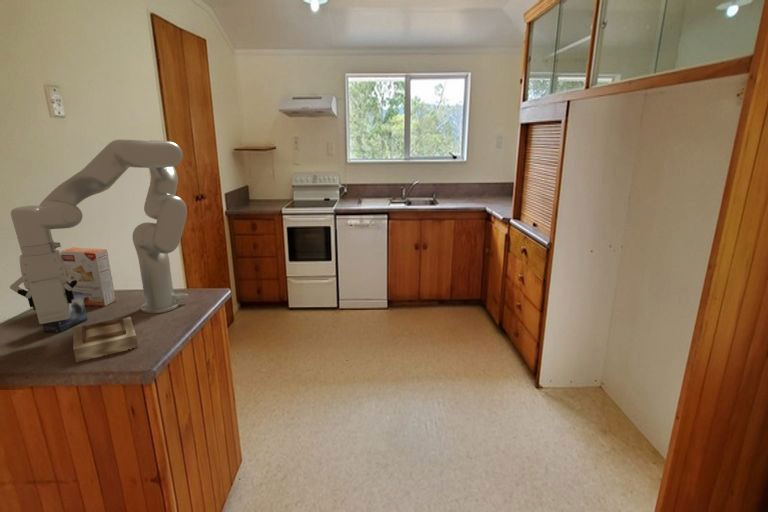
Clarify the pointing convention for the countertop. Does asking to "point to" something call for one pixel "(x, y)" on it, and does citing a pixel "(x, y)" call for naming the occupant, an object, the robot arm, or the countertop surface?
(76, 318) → the small box
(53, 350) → the countertop surface
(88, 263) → the cracker box
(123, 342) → the maple plinth
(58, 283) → the supplement box
